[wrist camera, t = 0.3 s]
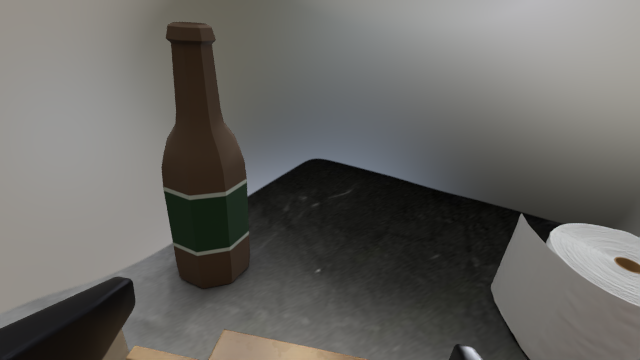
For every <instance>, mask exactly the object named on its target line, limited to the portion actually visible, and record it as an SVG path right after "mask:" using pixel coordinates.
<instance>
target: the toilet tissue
mask: <svg viewBox="0 0 640 360" xmlns="http://www.w3.org/2000/svg"><path fill="white" fill-rule="evenodd" d="M491 291H492V293H493V296H494V301H495V303H496V304H497V306H498V308H499V310H500V313H501V315H502V316H503V318H504V320H505V321H506V323H507V325H508V326H509V328H510V330H511V332H512V333H513V334H514V336H515V338H516V340H517V342H518V343H519V345H520V347H521V349H522V350H523V351H524V352H525V354H526V355H527V356H528V358H529V359H530V360H640V238H639V237H636V236H634V235H632V234H630V233H627V232H624V231H620V230H615V229H611V228H606V227H602V226H597V225H590V224H580V223H574V224H565V225H561V226H558V227H557V228H555V229H554V230H553V231H552V232H551V233H550V236H549V238H548V240H547V242H546V244H545V243H544V242H543V241H542V240H541V239H540V237H539V236H538V235H537V234H536V233H535V231H534V230H533V229H532V228H531V227H530V226H529V225H528V223H527V221H526V220H525V218H524V217H523V214H521V215H520V218H519V221H518V224H517V226H516V229H515V231H514V233H513V236H512V238H511V241H510V243H509V244H508V248H507V249H506V252H505V255H504V256H503V259H502V261H501V264H500V267H499V268H498V271H497V274H496V276H495V278H494V281H493V283H492V285H491Z"/></svg>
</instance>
